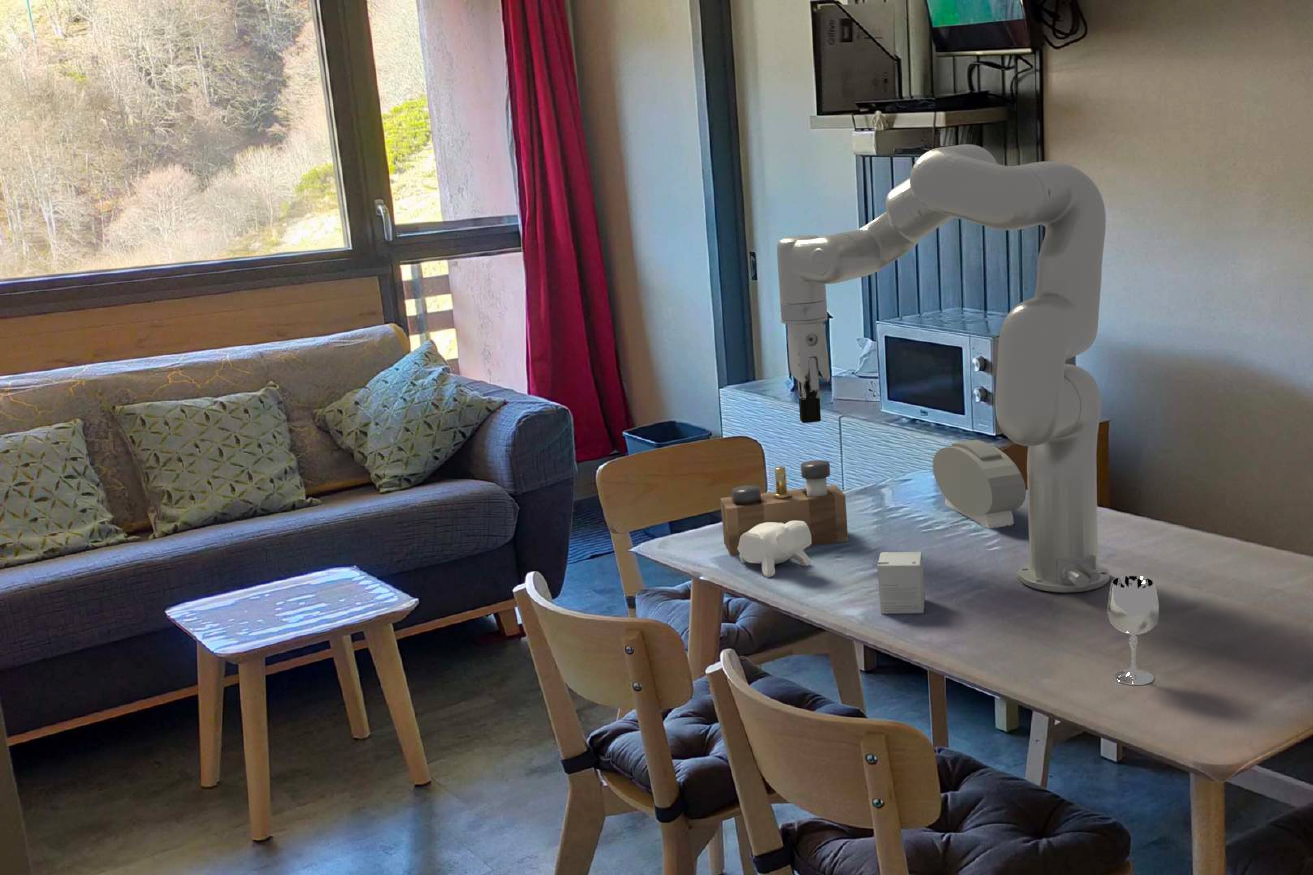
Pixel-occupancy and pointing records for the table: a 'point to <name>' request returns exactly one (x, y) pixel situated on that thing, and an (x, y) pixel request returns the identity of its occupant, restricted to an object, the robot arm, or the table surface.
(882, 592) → the skincare box
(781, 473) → the brass door knob
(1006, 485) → the alarm clock
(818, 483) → the knob
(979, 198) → the robot arm
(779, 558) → the white piece
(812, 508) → the walnut mount
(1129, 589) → the wineglass
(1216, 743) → the table surface
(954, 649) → the table surface
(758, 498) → the dark grey rounded lump
